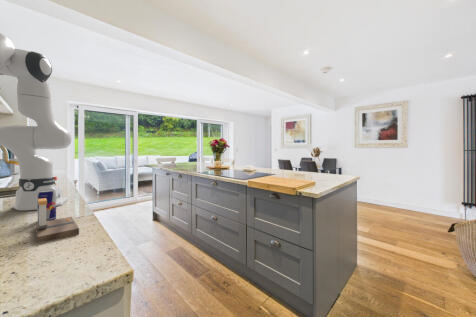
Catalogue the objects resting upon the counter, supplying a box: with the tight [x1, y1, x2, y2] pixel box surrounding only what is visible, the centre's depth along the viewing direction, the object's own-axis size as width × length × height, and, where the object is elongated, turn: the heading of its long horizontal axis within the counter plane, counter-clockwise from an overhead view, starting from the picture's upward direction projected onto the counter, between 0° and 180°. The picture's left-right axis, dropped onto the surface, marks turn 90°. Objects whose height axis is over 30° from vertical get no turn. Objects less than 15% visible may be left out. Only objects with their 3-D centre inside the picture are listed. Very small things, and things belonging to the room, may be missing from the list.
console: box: [35, 216, 80, 244], centre depth 70 cm, size 10×16×2 cm, turn 47°
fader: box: [37, 198, 47, 229], centre depth 67 cm, size 2×5×9 cm, turn 47°
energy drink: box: [37, 189, 57, 223], centre depth 79 cm, size 5×5×12 cm
